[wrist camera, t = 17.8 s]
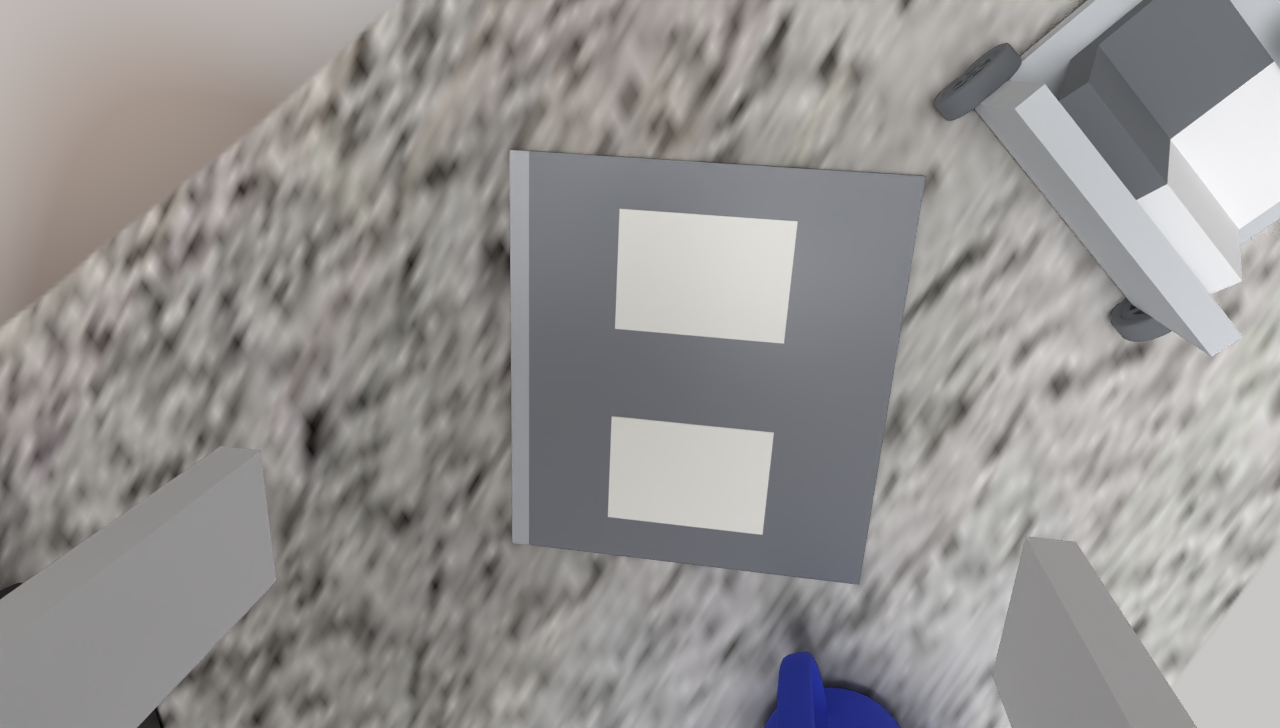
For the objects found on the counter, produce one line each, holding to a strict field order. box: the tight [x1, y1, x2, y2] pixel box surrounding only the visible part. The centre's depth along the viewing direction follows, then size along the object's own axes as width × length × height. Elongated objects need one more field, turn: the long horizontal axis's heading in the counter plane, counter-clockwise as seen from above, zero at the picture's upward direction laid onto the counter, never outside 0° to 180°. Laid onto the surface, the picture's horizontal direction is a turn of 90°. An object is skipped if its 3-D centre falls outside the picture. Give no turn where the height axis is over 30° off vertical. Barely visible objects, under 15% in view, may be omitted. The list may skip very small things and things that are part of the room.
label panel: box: [509, 150, 925, 585], centre depth 35 cm, size 16×18×1 cm
